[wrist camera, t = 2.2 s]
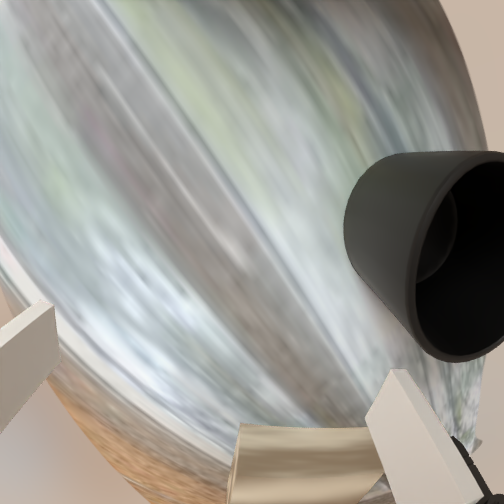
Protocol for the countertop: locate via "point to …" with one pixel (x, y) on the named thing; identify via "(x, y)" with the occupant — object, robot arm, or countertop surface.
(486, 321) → the black cup
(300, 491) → the riser block
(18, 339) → the robot arm
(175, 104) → the countertop surface
